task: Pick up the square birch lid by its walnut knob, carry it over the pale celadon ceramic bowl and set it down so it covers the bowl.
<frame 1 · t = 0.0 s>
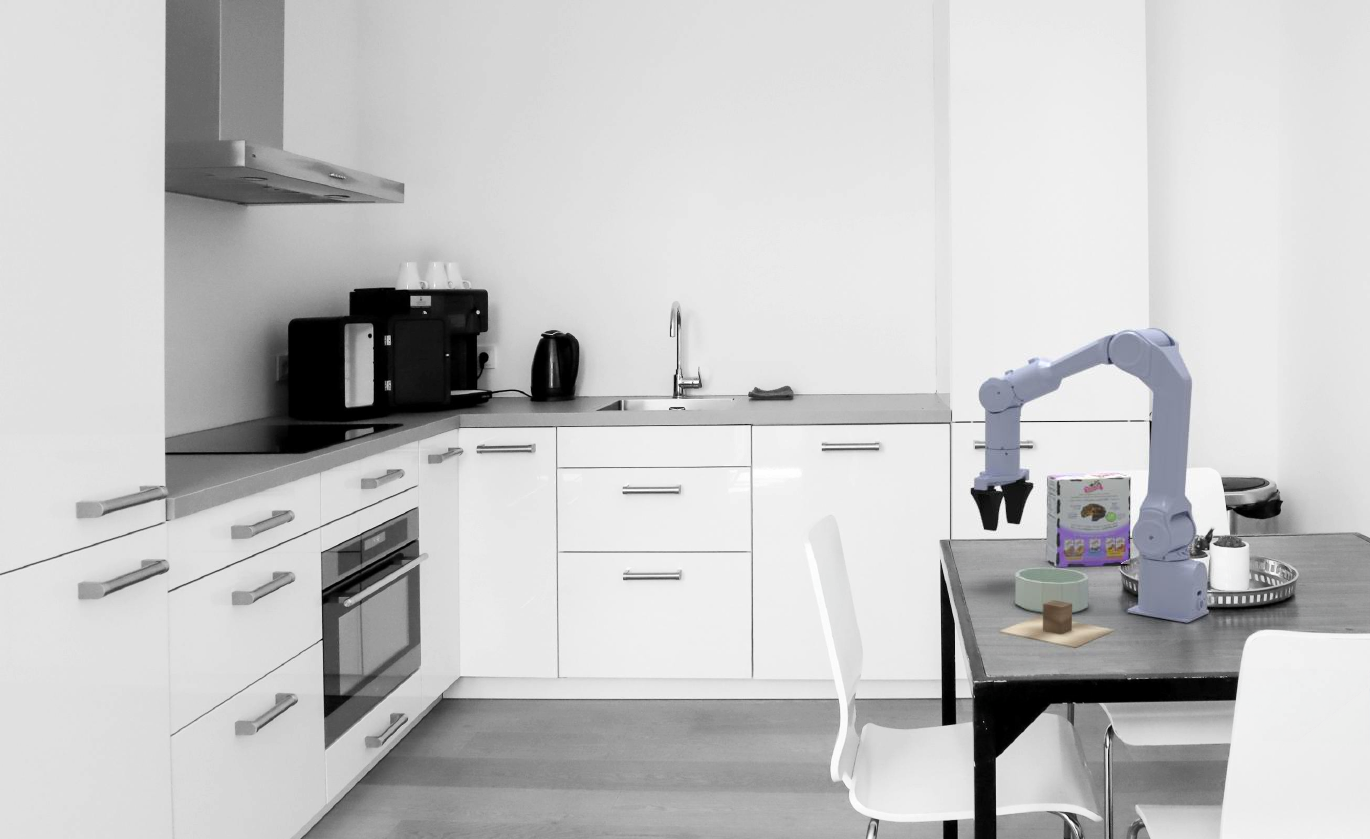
hand: (1002, 526, 200), 10 cm above the table, tool pointing down, fingers open, 7 cm apart
candy box: (1087, 564, 216), on the table
birch lid: (1057, 635, 172), on the table
celadon bowl: (1051, 606, 187), on the table
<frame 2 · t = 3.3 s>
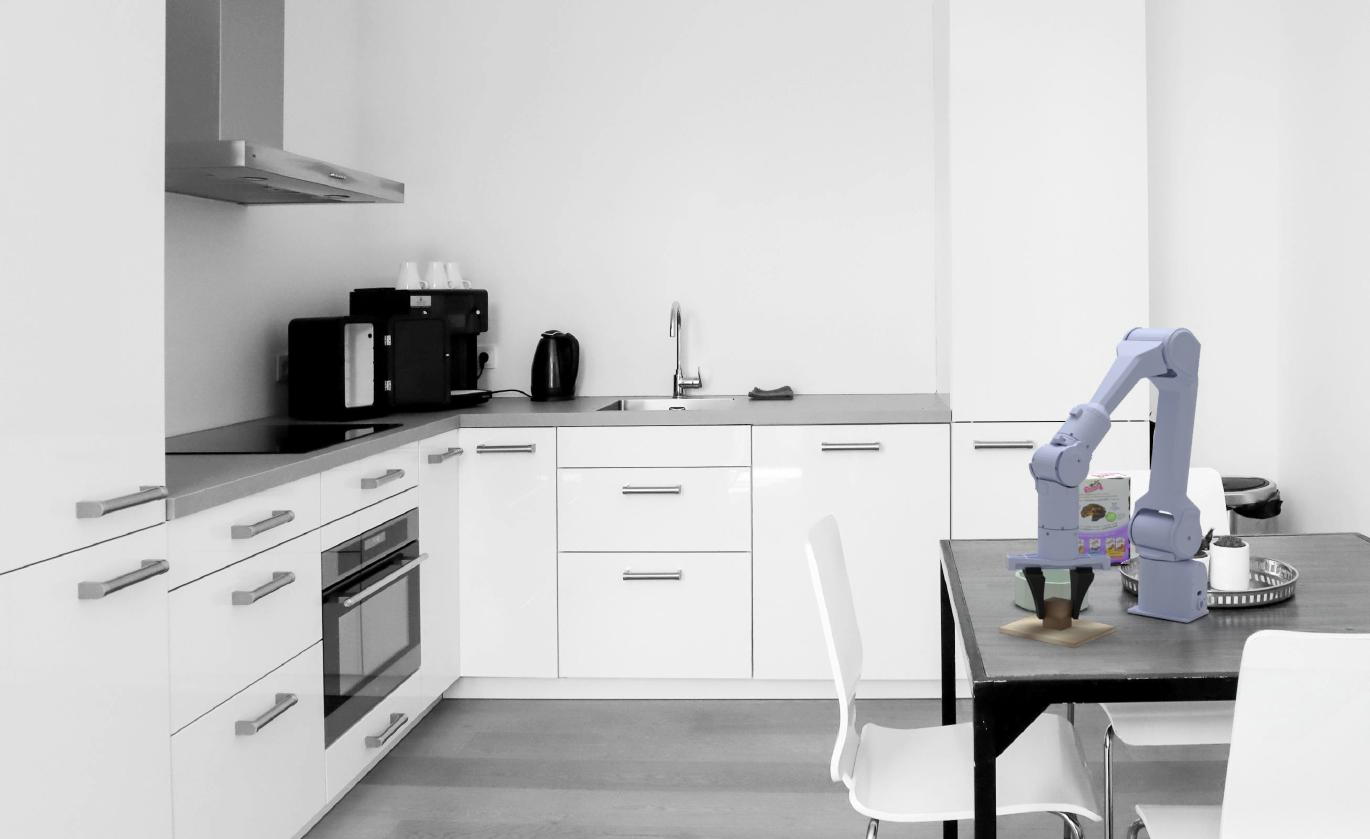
hand: (1057, 617, 172), 2 cm above the table, tool pointing down, fingers closed on birch lid, 4 cm apart
birch lid: (1057, 632, 172), on the table, touching gripper
everything else where it was.
when the fingers open (8 cm above the table, at t = 6.7 s): birch lid stays where it is, resting on celadon bowl.
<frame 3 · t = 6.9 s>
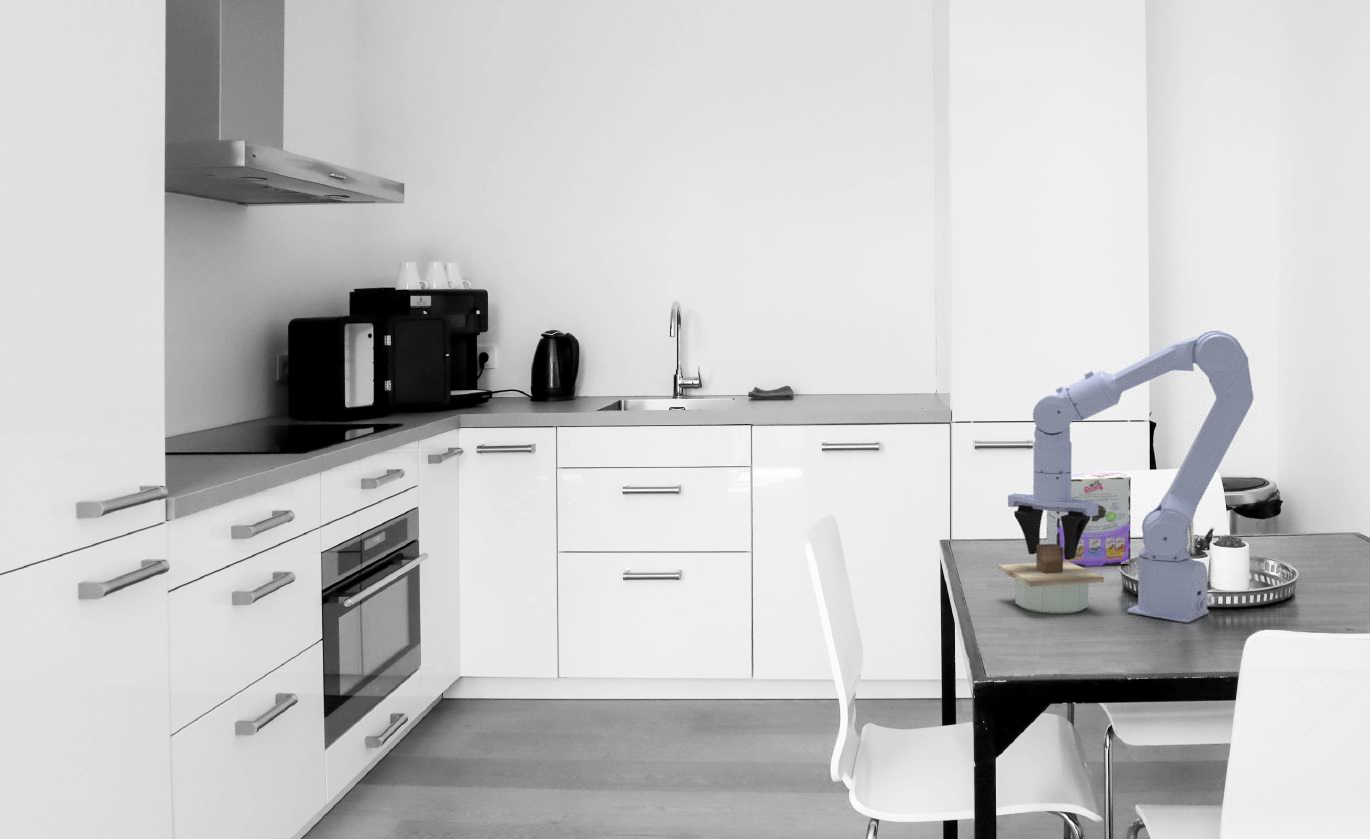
hand: (1051, 555, 186), 8 cm above the table, tool pointing down, fingers open, 6 cm apart
birch lid: (1049, 575, 186), point 5 cm above the table, touching celadon bowl
celadon bowl: (1051, 605, 187), on the table, touching birch lid
everything else where it was.
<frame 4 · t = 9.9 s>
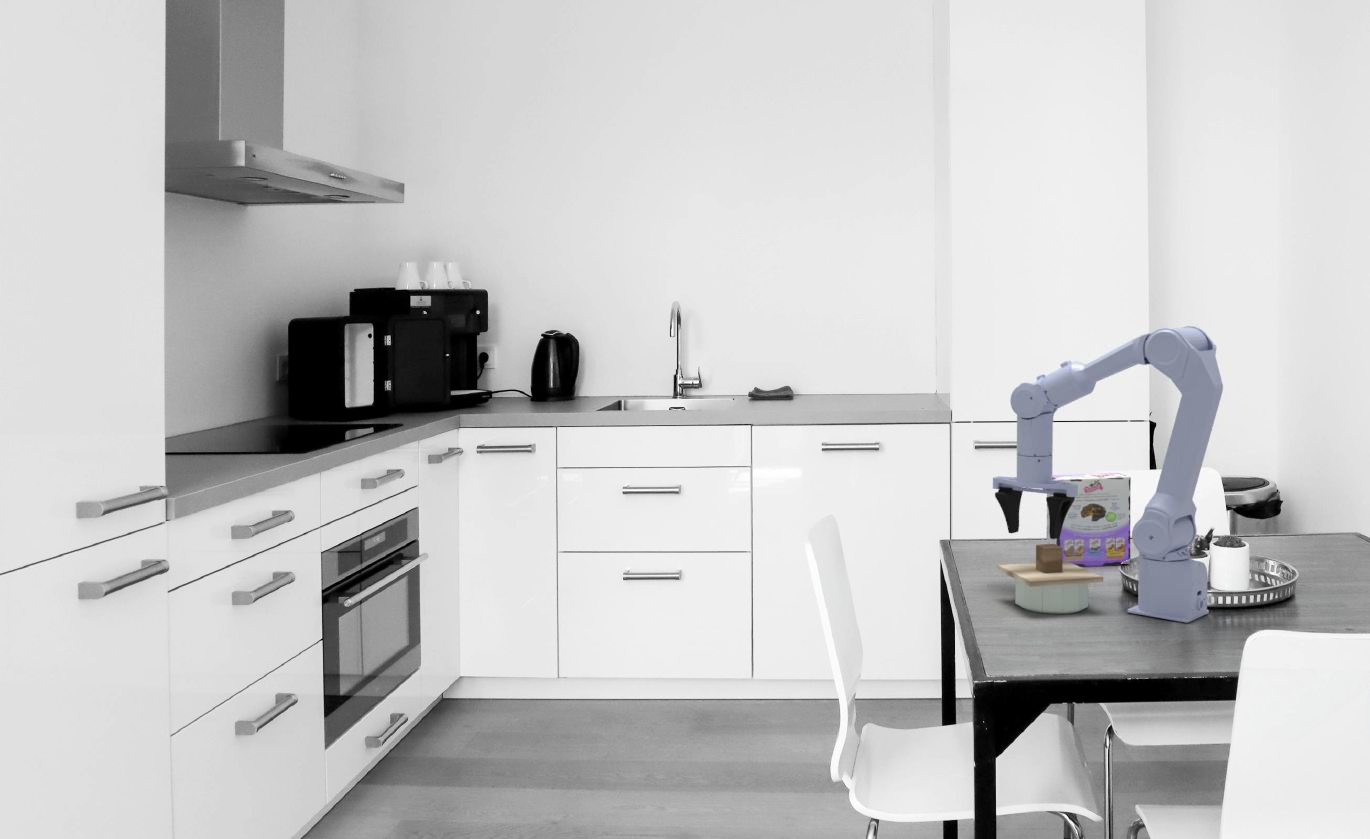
hand: (1033, 535, 196), 9 cm above the table, tool pointing down, fingers open, 7 cm apart
nothing on the table moved.
at the end: birch lid 0.6 cm from the celadon bowl (horizontally); birch lid point 4.9 cm above the table; the gripper is holding nothing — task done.
